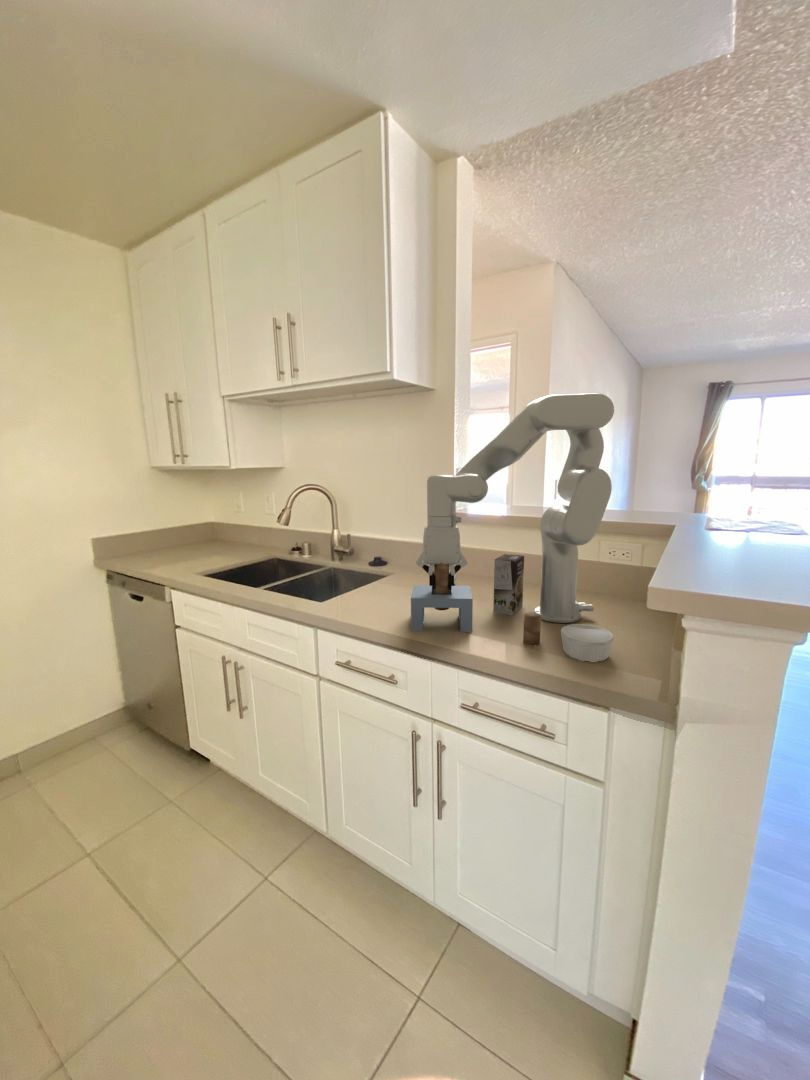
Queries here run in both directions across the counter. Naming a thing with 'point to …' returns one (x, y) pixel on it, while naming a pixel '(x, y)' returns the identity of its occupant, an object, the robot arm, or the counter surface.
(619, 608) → the counter surface
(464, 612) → the bridge
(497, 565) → the coffee box
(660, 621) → the counter surface
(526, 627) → the short pin
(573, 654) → the ramekin
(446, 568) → the tall pin
